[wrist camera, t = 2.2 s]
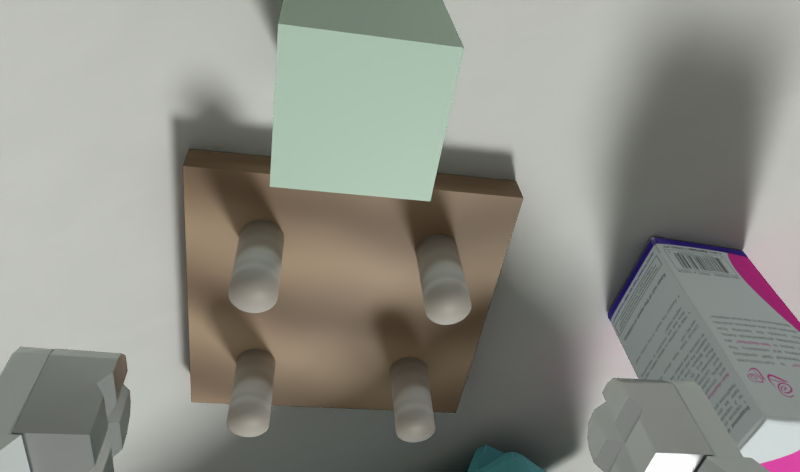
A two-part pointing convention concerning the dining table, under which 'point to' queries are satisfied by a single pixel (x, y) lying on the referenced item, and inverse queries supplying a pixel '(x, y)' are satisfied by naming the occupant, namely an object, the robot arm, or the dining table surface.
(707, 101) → the dining table surface
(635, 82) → the dining table surface
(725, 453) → the robot arm
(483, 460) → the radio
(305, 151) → the sage block
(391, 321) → the peg board
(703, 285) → the supplement box
